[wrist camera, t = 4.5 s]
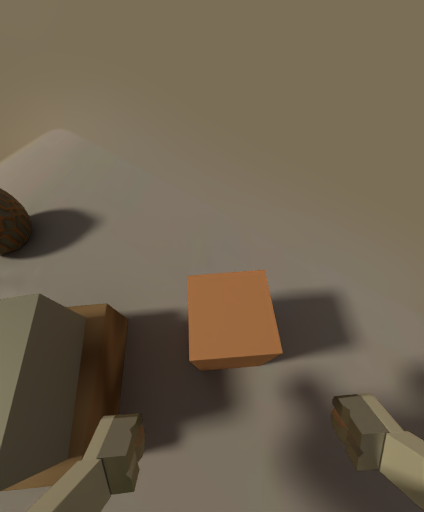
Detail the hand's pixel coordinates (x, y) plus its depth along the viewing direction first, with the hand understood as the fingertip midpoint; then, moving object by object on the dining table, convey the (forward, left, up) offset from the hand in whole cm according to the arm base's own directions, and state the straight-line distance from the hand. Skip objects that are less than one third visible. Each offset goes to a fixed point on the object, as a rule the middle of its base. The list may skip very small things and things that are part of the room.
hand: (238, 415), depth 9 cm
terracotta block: (+5, 0, -9) cm, 11 cm away
